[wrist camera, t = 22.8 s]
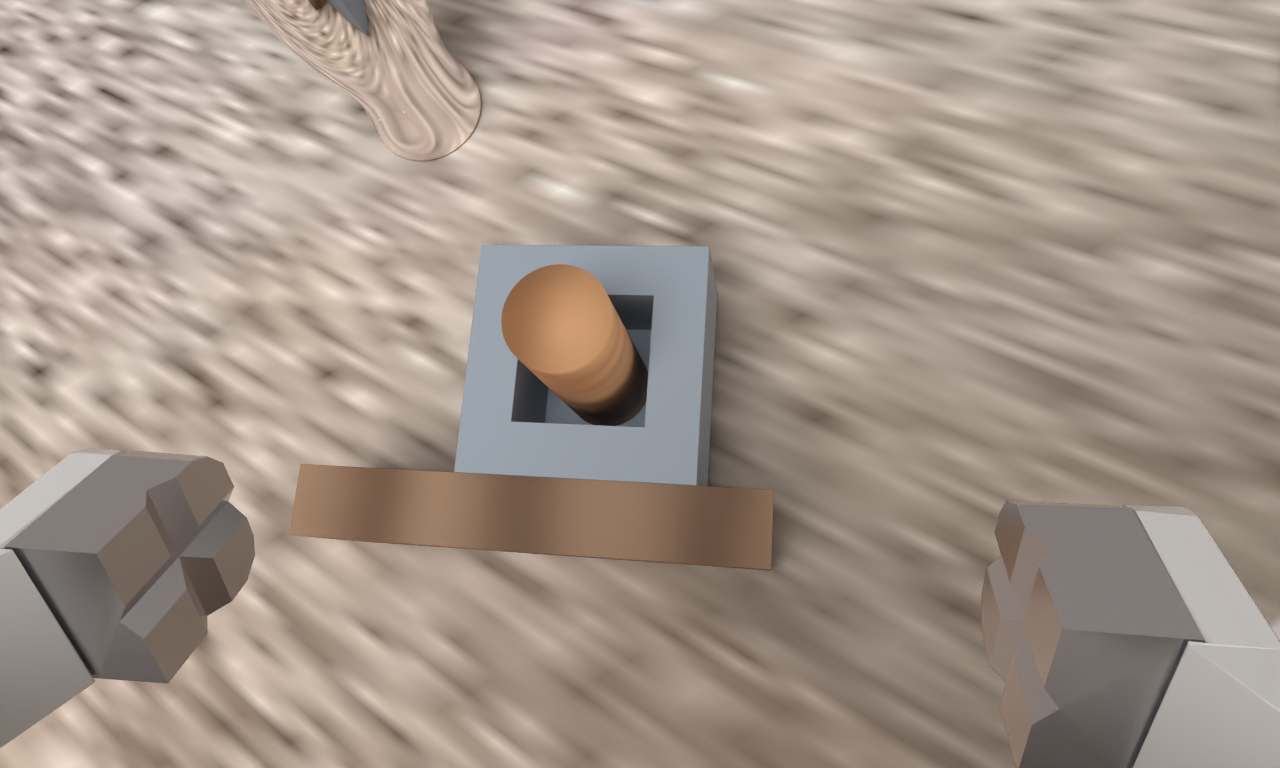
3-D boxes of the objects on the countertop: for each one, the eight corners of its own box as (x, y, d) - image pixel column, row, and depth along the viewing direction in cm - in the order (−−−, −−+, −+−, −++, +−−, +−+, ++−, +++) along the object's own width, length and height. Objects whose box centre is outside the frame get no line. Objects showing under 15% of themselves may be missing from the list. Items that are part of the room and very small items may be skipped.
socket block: (717, 294, 39) (709, 246, 34) (706, 499, 37) (696, 485, 32) (521, 291, 41) (481, 244, 35) (500, 487, 39) (453, 471, 33)
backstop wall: (772, 503, 37) (773, 489, 31) (770, 570, 36) (770, 568, 31) (367, 480, 40) (300, 464, 34) (358, 541, 40) (288, 534, 34)
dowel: (651, 346, 38) (614, 264, 29) (647, 428, 37) (606, 372, 28) (570, 344, 39) (506, 264, 29) (563, 425, 38) (495, 370, 28)
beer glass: (358, 84, 46) (171, -142, 31) (471, 38, 45) (333, -212, 31) (386, 187, 44) (201, -3, 30) (504, 141, 44) (374, -74, 29)
